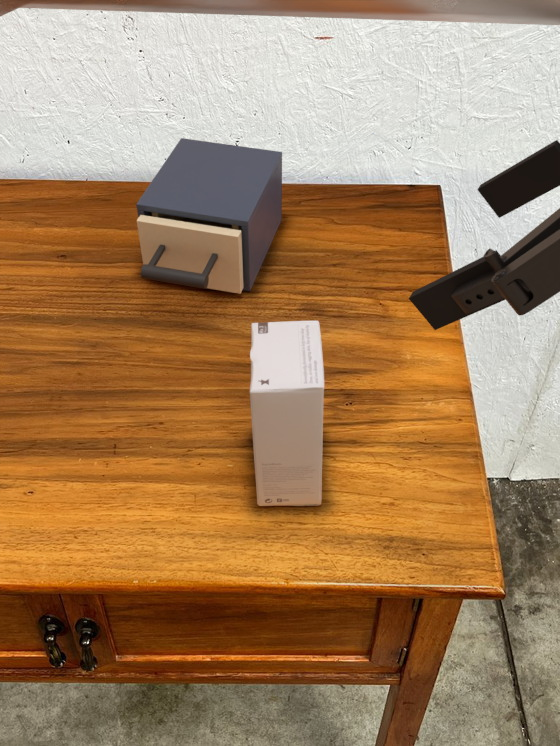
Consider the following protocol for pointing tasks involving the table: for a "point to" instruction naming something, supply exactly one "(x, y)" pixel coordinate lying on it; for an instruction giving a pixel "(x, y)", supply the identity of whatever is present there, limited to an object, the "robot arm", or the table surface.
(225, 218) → the cabinet
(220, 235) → the drawer
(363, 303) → the table surface
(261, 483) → the cosmetic box
